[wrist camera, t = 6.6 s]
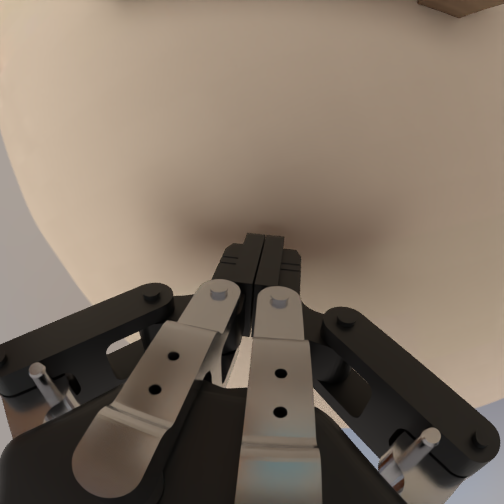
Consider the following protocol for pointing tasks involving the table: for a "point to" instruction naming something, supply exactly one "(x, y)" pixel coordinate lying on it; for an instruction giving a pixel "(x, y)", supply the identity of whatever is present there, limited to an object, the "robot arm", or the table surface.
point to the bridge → (460, 6)
